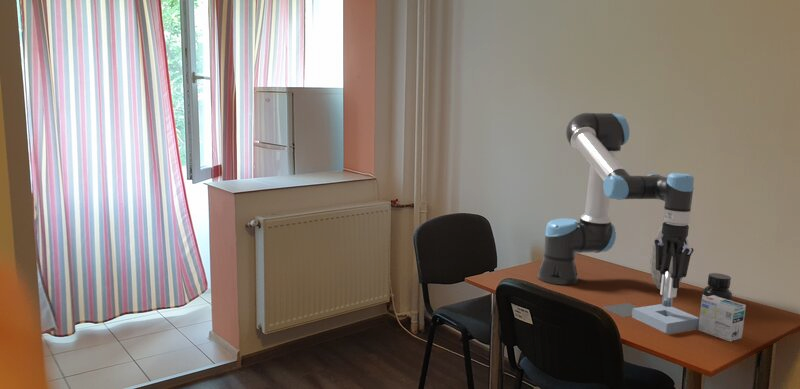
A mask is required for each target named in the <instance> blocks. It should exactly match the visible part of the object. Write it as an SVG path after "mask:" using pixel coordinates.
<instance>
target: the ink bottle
mask: <svg viewBox="0 0 800 389" xmlns="http://www.w3.org/2000/svg"><path fill="white" fill-rule="evenodd" d="M731 280H732V277H731V276H730V275H728V274H724V273H717V272H710V273H708V278H707V286H706V287H704V288H703V291H702V297H701V299H702V298H703V297H708V296H712V295H715V296H717V297H720V298H724V299H727V300H731V301H733V293H732V291H731V290H730V288H731V287H730V286H731Z"/></svg>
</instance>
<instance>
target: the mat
mask: <svg viewBox="0 0 800 389" xmlns="http://www.w3.org/2000/svg"><path fill="white" fill-rule="evenodd" d="M601 308H602V309H604V310H606V311H608V312H611V313H613V314H615V315H617V316H619V317H621V318H626V317H632V311H633V308H638V307H637V306H635V305H633V304H632V303H629V302H626V303H618V304H612V305H606V306H605V305H604V306H601Z"/></svg>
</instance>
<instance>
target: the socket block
mask: <svg viewBox="0 0 800 389" xmlns="http://www.w3.org/2000/svg"><path fill="white" fill-rule="evenodd" d="M631 318H633V319H635V320H637V321H639V322H641V323H643V324H646V325H648V326H649V327H652V328H654V329H657V330H658V331H660V332H662V333H663V334H664V335H670V334H671V335H672V334H676V333H682V332H688V331H694V330H698V326H699V317H698V316H695V315H693V314H691V313H689V312H686V311H684V310H681V309H678V308H676V307H674V306H672V307H666V306H663V305H662V303H660V304H659V303H657V304H653V305H646V306H639V307H638V308H633V311H632V316H631Z"/></svg>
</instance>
